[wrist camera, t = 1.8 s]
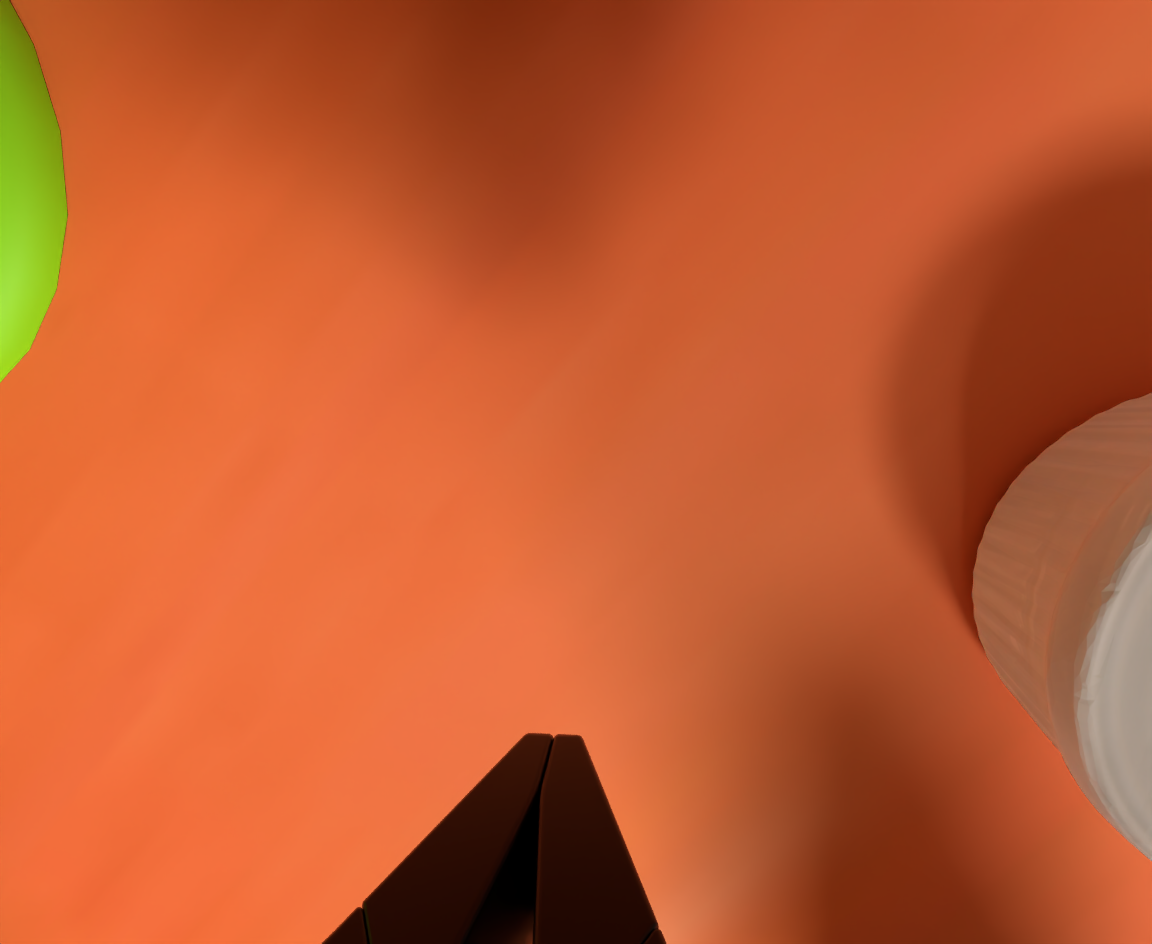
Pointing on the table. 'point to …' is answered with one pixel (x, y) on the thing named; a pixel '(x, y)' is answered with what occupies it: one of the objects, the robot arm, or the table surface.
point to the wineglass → (26, 192)
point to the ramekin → (1081, 606)
